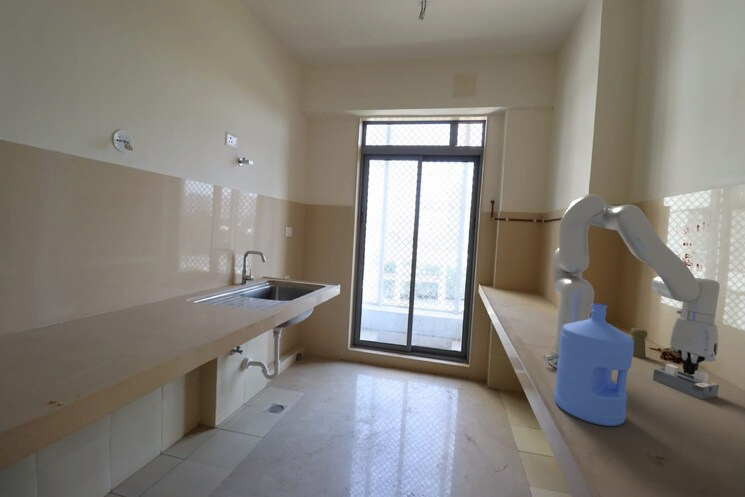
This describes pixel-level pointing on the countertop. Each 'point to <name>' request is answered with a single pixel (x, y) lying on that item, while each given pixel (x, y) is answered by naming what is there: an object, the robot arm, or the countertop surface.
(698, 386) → the switch block
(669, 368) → the inner tab
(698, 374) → the outer tab
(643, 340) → the cork
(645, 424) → the countertop surface
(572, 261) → the robot arm
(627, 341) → the water jug
